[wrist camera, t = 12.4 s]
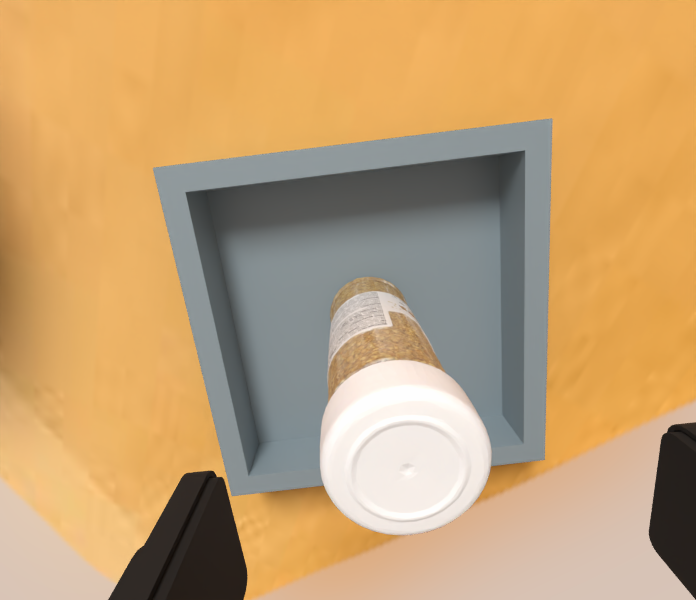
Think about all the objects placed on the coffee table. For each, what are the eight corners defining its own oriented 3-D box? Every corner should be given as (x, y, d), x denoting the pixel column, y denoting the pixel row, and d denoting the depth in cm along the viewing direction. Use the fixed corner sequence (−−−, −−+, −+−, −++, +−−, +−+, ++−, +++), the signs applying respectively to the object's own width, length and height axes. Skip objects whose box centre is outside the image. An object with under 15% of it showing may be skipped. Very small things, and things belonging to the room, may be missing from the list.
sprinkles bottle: (418, 329, 23) (521, 505, 10) (348, 360, 24) (364, 567, 11) (387, 260, 22) (460, 362, 9) (314, 294, 23) (286, 437, 10)
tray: (513, 131, 21) (552, 118, 18) (514, 420, 26) (544, 459, 22) (185, 171, 22) (152, 167, 18) (247, 451, 26) (231, 496, 23)
